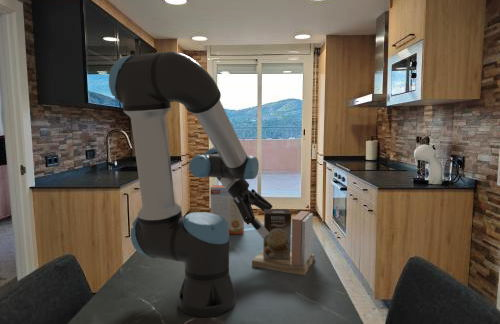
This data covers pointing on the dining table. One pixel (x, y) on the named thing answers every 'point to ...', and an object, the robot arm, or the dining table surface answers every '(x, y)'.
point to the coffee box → (277, 234)
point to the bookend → (306, 240)
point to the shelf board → (281, 264)
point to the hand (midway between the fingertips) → (273, 230)
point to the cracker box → (226, 209)
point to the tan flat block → (297, 236)
